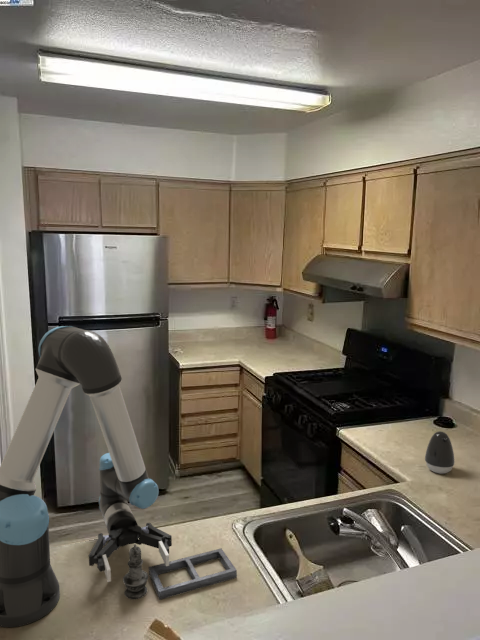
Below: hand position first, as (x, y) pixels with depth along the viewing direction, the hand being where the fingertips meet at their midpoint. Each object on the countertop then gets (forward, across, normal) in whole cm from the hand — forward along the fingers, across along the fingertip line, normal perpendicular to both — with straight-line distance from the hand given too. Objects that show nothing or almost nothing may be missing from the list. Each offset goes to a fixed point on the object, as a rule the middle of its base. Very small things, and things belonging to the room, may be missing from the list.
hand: (139, 568), depth 111 cm
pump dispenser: (-21, -118, -7) cm, 120 cm away
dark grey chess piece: (-2, 0, -7) cm, 7 cm away
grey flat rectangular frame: (-2, -14, -7) cm, 15 cm away
